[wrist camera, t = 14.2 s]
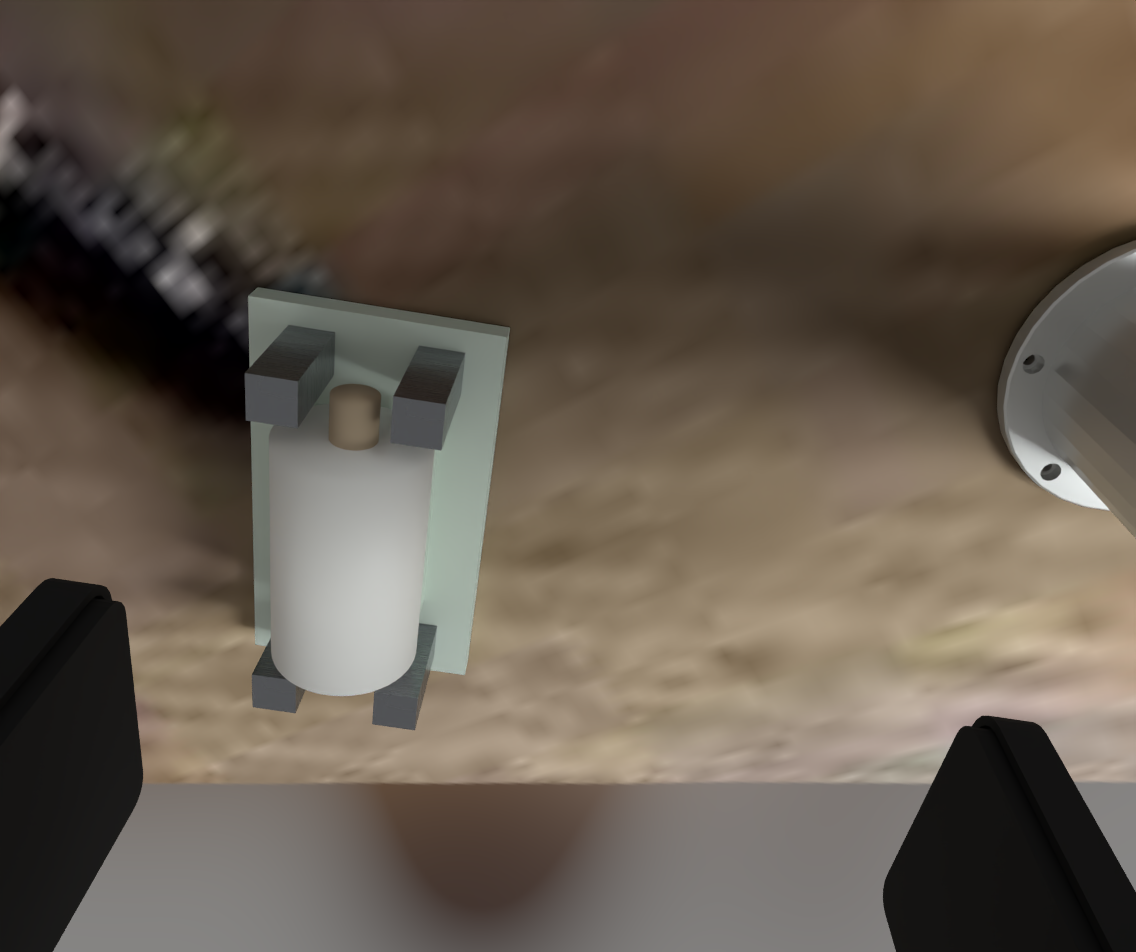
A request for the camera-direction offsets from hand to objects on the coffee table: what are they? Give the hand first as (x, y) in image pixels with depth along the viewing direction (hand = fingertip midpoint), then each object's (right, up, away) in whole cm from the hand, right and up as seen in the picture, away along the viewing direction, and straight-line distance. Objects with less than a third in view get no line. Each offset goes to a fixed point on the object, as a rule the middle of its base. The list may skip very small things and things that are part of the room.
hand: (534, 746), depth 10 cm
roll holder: (-9, +2, +34) cm, 35 cm away
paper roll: (-9, +1, +33) cm, 34 cm away
